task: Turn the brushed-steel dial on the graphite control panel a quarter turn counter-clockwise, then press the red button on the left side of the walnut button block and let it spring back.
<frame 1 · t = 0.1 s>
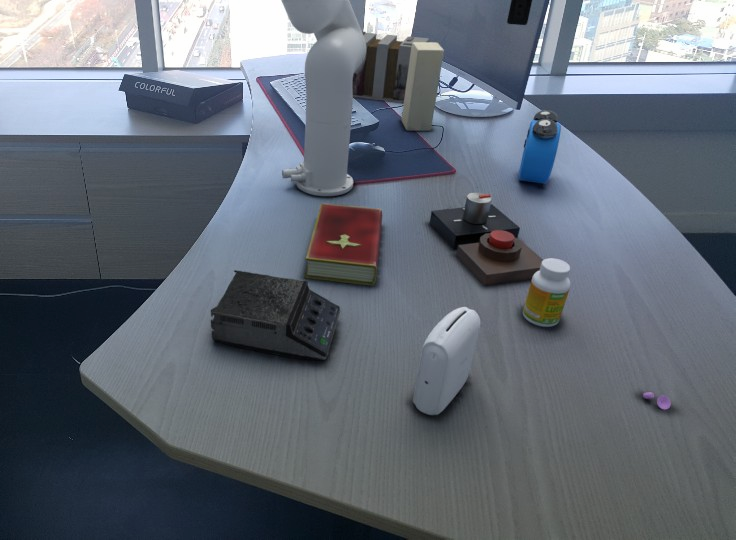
hand: (518, 18, 110), 37 cm above the table, tool pointing down, fingers open, 9 cm apart
control panel: (471, 232, 122), on the table
start button: (501, 239, 111), point 4 cm above the table, slide at 0.1 cm
electronic device: (277, 331, 97), on the table
hardcover book: (345, 251, 117), on the table
toy refrigerator: (417, 126, 172), on the table
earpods: (655, 403, 84), on the table
alarm clock: (531, 180, 143), on the table
photo printer: (439, 393, 86), on the table
supplement bottle: (540, 318, 100), on the table
timer knob: (477, 207, 120), point 5 cm above the table, hinge at 0.0°
button block: (500, 265, 112), on the table
bookend: (381, 92, 197), on the table
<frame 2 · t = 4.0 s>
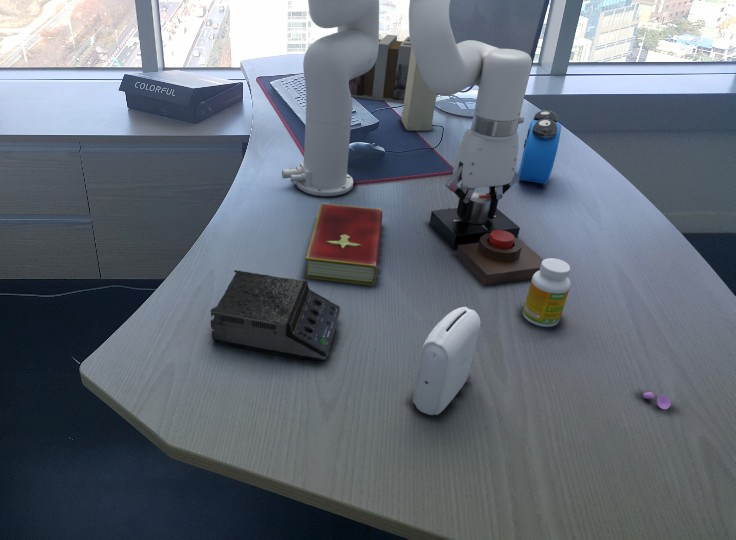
hand: (475, 216, 121), 4 cm above the table, tool pointing down, fingers closed on timer knob, 4 cm apart
timer knob: (477, 207, 120), point 5 cm above the table, hinge at 0.1°, touching gripper
everything else where it was.
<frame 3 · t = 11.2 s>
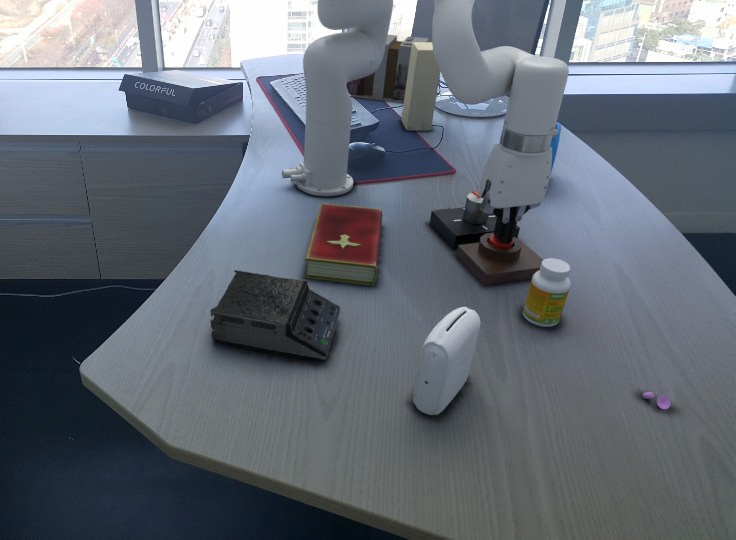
hand: (502, 239, 111), 5 cm above the table, tool pointing down, fingers closed
start button: (500, 243, 112), point 4 cm above the table, slide at -0.6 cm, touching gripper
timer knob: (477, 207, 120), point 5 cm above the table, hinge at 89.7°
everything else where it was.
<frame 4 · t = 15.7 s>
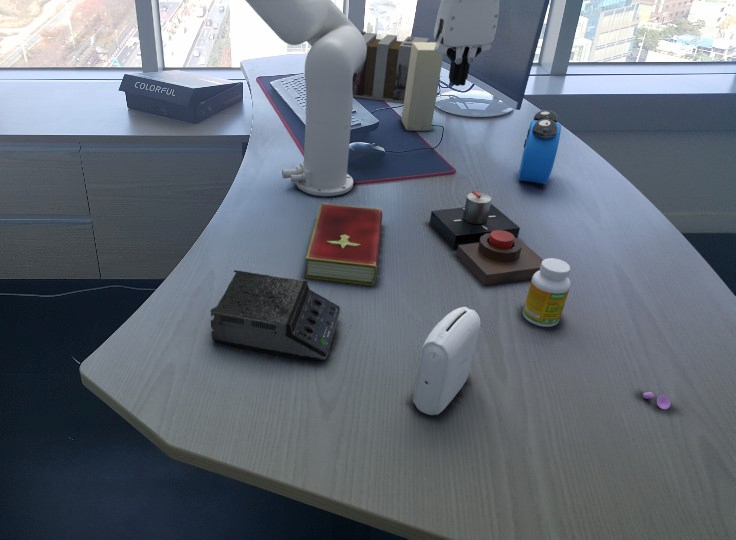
hand: (456, 83, 119), 25 cm above the table, tool pointing down, fingers closed
start button: (501, 239, 111), point 4 cm above the table, slide at 0.1 cm
everything else where it was.
at the end: timer knob at +90° (first picture: +0°); start button pushed in 1.1 cm at the most during the clip, back to where it started at the end; start button slide at 0.1 cm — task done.
